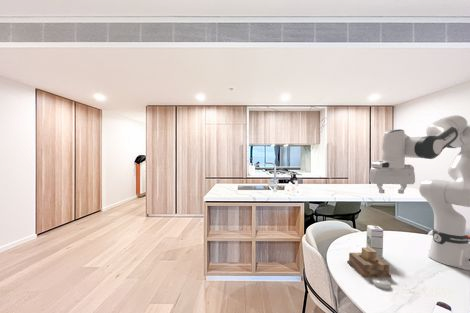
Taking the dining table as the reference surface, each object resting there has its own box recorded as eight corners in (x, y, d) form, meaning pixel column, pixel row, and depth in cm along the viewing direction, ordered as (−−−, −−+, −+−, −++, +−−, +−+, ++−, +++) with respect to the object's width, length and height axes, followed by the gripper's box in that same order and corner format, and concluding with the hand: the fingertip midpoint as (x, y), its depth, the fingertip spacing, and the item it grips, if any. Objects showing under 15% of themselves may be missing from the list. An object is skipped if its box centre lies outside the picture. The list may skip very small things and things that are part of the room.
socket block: (371, 262, 105) (372, 252, 105) (391, 277, 93) (391, 265, 93) (347, 262, 104) (347, 252, 104) (363, 277, 92) (363, 265, 92)
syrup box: (383, 258, 109) (384, 229, 108) (369, 257, 110) (371, 228, 110) (378, 253, 114) (379, 225, 114) (365, 252, 116) (366, 224, 115)
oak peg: (369, 264, 101) (370, 247, 100) (375, 269, 97) (376, 251, 96) (361, 264, 100) (361, 247, 100) (366, 269, 96) (367, 251, 96)
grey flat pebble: (382, 280, 91) (382, 277, 91) (394, 289, 85) (394, 286, 85) (368, 281, 90) (368, 277, 90) (379, 290, 84) (379, 286, 84)
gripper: (408, 164, 107) (406, 192, 108) (367, 163, 106) (366, 191, 107) (419, 165, 101) (418, 195, 102) (376, 164, 100) (375, 194, 101)
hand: (391, 193), depth 104 cm, fingers open, 8 cm apart
